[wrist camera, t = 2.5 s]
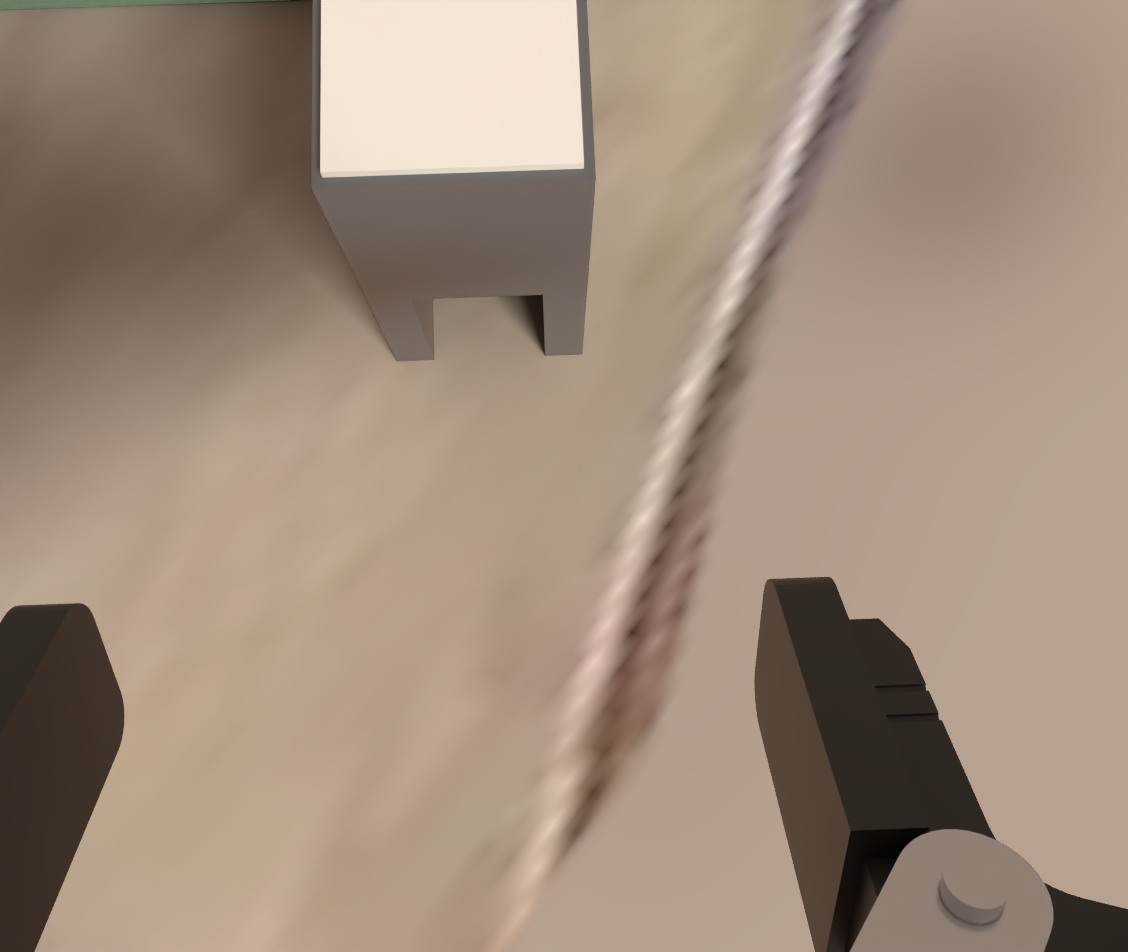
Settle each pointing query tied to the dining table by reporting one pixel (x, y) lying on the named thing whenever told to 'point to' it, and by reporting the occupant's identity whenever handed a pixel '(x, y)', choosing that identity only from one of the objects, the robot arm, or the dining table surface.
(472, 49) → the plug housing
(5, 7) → the board
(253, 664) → the dining table surface
